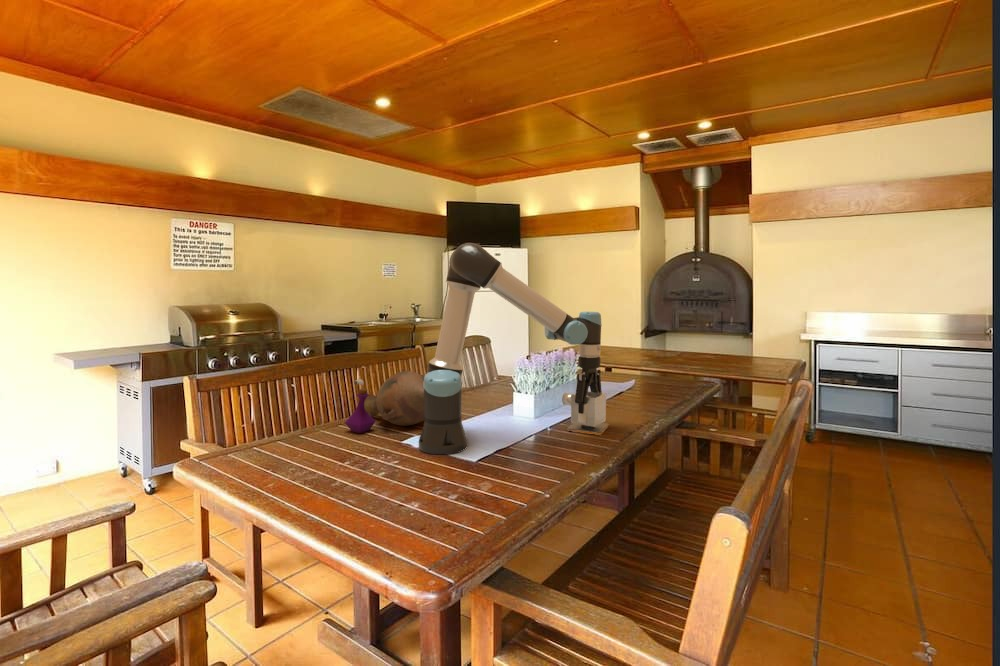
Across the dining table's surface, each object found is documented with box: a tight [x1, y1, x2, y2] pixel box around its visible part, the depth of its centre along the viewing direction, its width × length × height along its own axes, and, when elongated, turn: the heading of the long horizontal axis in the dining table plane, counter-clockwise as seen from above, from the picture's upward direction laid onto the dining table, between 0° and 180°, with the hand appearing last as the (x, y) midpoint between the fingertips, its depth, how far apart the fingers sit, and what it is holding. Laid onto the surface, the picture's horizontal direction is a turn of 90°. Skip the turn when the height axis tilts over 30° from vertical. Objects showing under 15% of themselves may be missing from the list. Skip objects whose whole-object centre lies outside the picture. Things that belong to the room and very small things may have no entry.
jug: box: [364, 370, 425, 427], centre depth 188 cm, size 20×20×30 cm
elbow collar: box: [561, 390, 607, 427], centre depth 182 cm, size 14×9×10 cm, turn 54°
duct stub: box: [566, 422, 610, 433], centre depth 181 cm, size 12×12×9 cm
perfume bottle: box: [344, 378, 376, 434], centre depth 177 cm, size 8×8×18 cm
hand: (588, 419), depth 181 cm, fingers closed on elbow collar, 9 cm apart
